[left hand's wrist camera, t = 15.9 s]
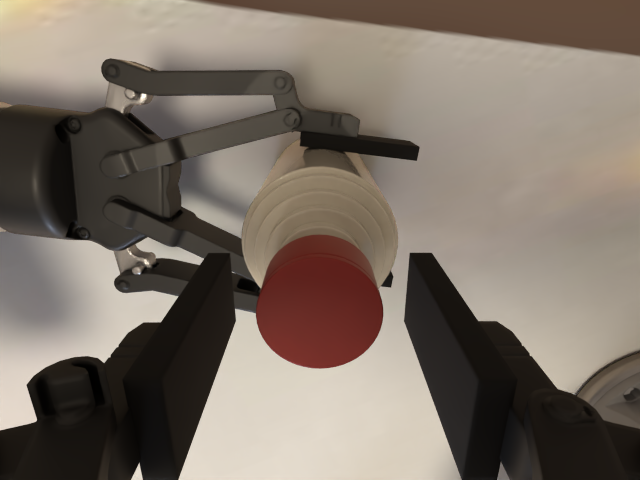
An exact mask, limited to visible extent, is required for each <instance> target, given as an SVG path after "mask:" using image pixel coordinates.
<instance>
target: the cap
mask: <svg viewBox="0 0 640 480" xmlns="http://www.w3.org/2000/svg"><path fill="white" fill-rule="evenodd" d="M256 319H257V324H258V328H259V331H260V333H261V335H262V337H263V339H264V340H265V342H266V343H267V345H268V346H269V347H270V348H271V349H272V350H273V351H274V352H275V353H276V354H278V355H279V356H280V357H282V358H283V359H285V360H287V361H289V362H291V363H294V364H296V365H299V366H303V367H308V368H331V367H336V366H340V365H343V364H346V363H348V362H350V361H352V360H354V359H356V358H357V357H359V356H360V355H362V354H363V353H364V352H365V351H366V350H367V349H368V348H369V347H370V346H371V345H372V344H373V342H374V341H375V339H376V337H377V336H378V333H379V331H380V329H381V325H382V321H383V305H382V300H381V296H380V293H379V290H378V286H377V283H376V279H375V276H374V272H373V269H372V267H371V265H370V263H369V261H368V259H367V258H366V256H365V255H364V254H363V253H362V252H361V251H360V250H359V249H358V248H357V247H356V246H354V245H353V244H351V243H350V242H348V241H346V240H344V239H342V238H338V237H335V236H330V235H320V234H319V235H309V236H304V237H301V238H298V239H296V240H293V241H291V242H290V243H288V244H286V245H285V246H284V247H282V248H281V249H280V250H279V251H278V252H277V253H276V254H275V255H274V257H273V258H272V260H271V261H270V263H269V265H268V267H267V270H266V274H265V277H264V280H263V284H262V287H261V291H260V294H259V297H258V301H257V306H256Z"/></svg>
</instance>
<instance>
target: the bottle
mask: <svg viewBox="0 0 640 480" xmlns="http://www.w3.org/2000/svg"><path fill="white" fill-rule="evenodd" d="M319 234H320V235H330V236H335V237H338V238H342V239H344V240H346V241H348V242H350V243H351V244H353V245H354V246H356V247H357V248H358V249H359V250H360V251H361V252H362V253H363V254H364V255H365V256H366V258H367V259H368V261H369V263H370V265H371V267H372V269H373V272H374V276H375V279H376V283H377V286H378V289H379V288H380V286H381V285H382V284H383V282H384V281H385V279H386V277H387V276H388V274H389V273H390V271H391V268H392V266H393V264H394V261H395V258H396V253H397V248H398V233H397V226H396V222H395V218H394V215H393V213H392V211H391V208H390V207H389V205H388V203H387V201H386V200H385V198H384V196H383V195H382V193H381V191H380V190H379V188H378V186H377V185H376V183H375V181H374V179H373V178H372V176H371V174H370V173H369V171H368V169H367V168H366V166H365V164H364V163H363V161H362V159H361V157H360V156H359V154H358V153H350V152H342V151H334V150H326V149H318V148H310V147H301V146H300V139H299V140H297V141H295V142H293V143H292V144H291V145H289V146H288V147H287V148H286V149H285V150H284V151H283V152H282V154H281V155H280V157H279V158H278V160H277V162H276V163H275V165H274V167H273V168H272V170H271V172H270V173H269V175H268V177H267V178H266V180H265V182H264V183H263V185H262V187H261V189H260V190H259V192H258V194H257V195H256V197H255V199H254V200H253V202H252V204H251V205H250V208H249V210H248V212H247V214H246V217H245V220H244V223H243V229H242V252H243V256H244V260H245V262H246V265H247V267H248V270H249V272H250V273H251V275H252V277H253V278H254V280H255V282H256V283H257V284H258V286H259V287H260V288H261V287H262V284H263V280H264V277H265V274H266V270H267V267H268V265H269V263H270V261H271V260H272V258H273V257H274V255H275V254H276V253H277V252H278V251H279V250H280V249H281V248H282V247H284V246H285V245H286V244H288V243H290V242H291V241H293V240H296V239H298V238H301V237H304V236H309V235H319Z"/></svg>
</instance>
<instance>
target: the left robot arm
mask: <svg viewBox="0 0 640 480" xmlns="http://www.w3.org/2000/svg"><path fill="white" fill-rule="evenodd" d="M235 322H236V317H235V305H234V293H233V281H232V269H231V258H230V253H208V254H207V256H206V257H205V259H204V260H203V262H202V263H201V264H200V266H199V267H198V269H197V270H196V272H195V273H194V275H193V276H192V278H191V279H190V281H189V282H188V284H187V285H186V287H185V288H184V289H183V291H182V292H181V294H180V295H179V297H178V298H177V300H176V301H175V303H174V304H173V306H172V307H171V309H170V310H169V311H168V313H167V314H166V316H165V317H164V319H163V320H162V322H161V323H142V324H141V325H139V326H138V327H136V328H135V329H133V330H132V331H130V332H129V333H128V334H127V335H126V336H125V338H124V339H123V340H122V341H121V343H120V344H119V347H117V348H116V349H115V350H114V352H113V353H112V354H111V358H108V359H107V361H106V362H105V363H103V362H102V361H101V360H99V359H98V358H94V357H89V356H85V357H74V358H70V359H66V360H62V361H59V362H57V363H55V364H52V365H50V366H48V367H46V368H44V369H43V370H42V371H40V372H39V373H37V374H36V375H34V376H33V378H32V379H31V380H30V381H29V383H28V384H27V388H28V391H29V394H30V398H31V401H32V404H33V407H34V410H35V414H36V417H37V422H34V423H31V424H27V425H23V426H18V427H14V428H9V429H5V430H0V480H131V478H132V476H133V474H134V472H135V470H136V468H137V466H138V464H139V462H140V467H141V472H142V477H143V480H178V479H179V476H180V473H181V471H182V468H183V465H184V462H185V460H186V457H187V454H188V451H189V448H190V446H191V443H192V440H193V437H194V435H195V432H196V429H197V426H198V424H199V421H200V418H201V415H202V413H203V410H204V407H205V404H206V402H207V399H208V396H209V393H210V391H211V388H212V385H213V382H214V380H215V377H216V374H217V371H218V369H219V366H220V363H221V360H222V358H223V355H224V352H225V349H226V346H227V344H228V341H229V338H230V335H231V333H232V330H233V327H234V324H235ZM404 322H405V324H406V327H407V330H408V333H409V335H410V338H411V341H412V344H413V346H414V349H415V352H416V355H417V358H418V360H419V363H420V366H421V369H422V371H423V374H424V377H425V380H426V382H427V385H428V388H429V391H430V393H431V396H432V399H433V402H434V404H435V407H436V410H437V413H438V415H439V418H440V421H441V424H442V426H443V429H444V432H445V435H446V437H447V440H448V443H449V446H450V448H451V451H452V454H453V457H454V460H455V462H456V465H457V468H458V471H459V473H460V476H461V479H462V480H497V477H498V472H499V467H500V462H502V464H503V466H504V468H505V470H506V472H507V474H508V476H509V478H510V480H640V353H637V354H634V355H631V356H629V357H626V358H624V359H622V360H620V361H618V362H616V363H614V364H612V365H610V366H609V367H607V368H606V369H604V370H603V371H601V372H600V373H598V374H597V375H596V376H595V377H594V378H592V379H591V380H590V381H589V382H588V383H587V384H586V385H585V386H584V387H583V389H582V390H581V391H580V392H579V394H578V395H577V396H575V395H573V394H572V393H568V392H565V391H562V390H558V389H557V388H556V387H555V385H554V384H553V383H552V382H551V380H550V379H549V378H548V376H547V375H546V374H545V373H544V371H543V370H542V369H541V368H540V366H539V365H538V364H537V363H536V361H535V360H534V359H533V357H532V356H530V355H529V352H528V351H527V350H526V349H525V347H524V346H522V344H521V342H520V341H519V340H518V339H517V337H516V336H515V335H514V333H513V332H512V331H510V330H509V329H507V328H506V327H504V326H503V325H501V324H500V323H498V322H497V321H478V320H477V319H476V317H475V316H474V314H473V313H472V311H471V310H470V309H469V307H468V306H467V304H466V303H465V301H464V300H463V298H462V297H461V295H460V294H459V292H458V291H457V289H456V288H455V287H454V285H453V284H452V282H451V281H450V279H449V278H448V276H447V275H446V273H445V272H444V270H443V269H442V267H441V266H440V264H439V263H438V262H437V260H436V259H435V257H434V256H433V254H432V253H410V257H409V269H408V281H407V293H406V305H405V317H404Z"/></svg>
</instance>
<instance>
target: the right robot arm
mask: <svg viewBox="0 0 640 480" xmlns="http://www.w3.org/2000/svg"><path fill="white" fill-rule="evenodd" d="M101 70H102V74H103V77H104V78H105V79H106V80H107V81H109V86H108V92H107V98H106V104H105V107H104V108H99V109H97V110H95V111H93V112H90V113H86V112H78V111H70V110H62V109H54V108H46V107H38V106H30V105H13V106H12V105H10V104H7V103H4V102H0V232H6V231H8V232H11V233H14V234H22V235H31V236H40V237H49V238H58V239H67V240H90V241H93V242H96V243H98V244H100V245H102V246H103V247H105V248H107V249H109V250H113V251H114V254H115V257H116V260H117V264H118V267H119V270H120V275H119V276H118V277H117V278H116V279H115V281H114V285H115V287H116V289H117V290H119V291H120V292H123V293H131V292H142V291H152V290H153V291H157V292H162V293H166V294H171V295H176V296H179V295H180V294H181V292H182V291H183V289H184V288H185V287H186V285H187V284H188V282H189V281H190V279H191V278H192V276H193V275H194V273H195V272H196V270H197V269H198V267H199V266H200V265H196V264H191V263H187V262H183V261H178V260H173V259H165V258H156V256H155V254H154V253H152V252H143V251H141V250H139V249H138V248H137V247H136V245H135V244H136V243H138V242H140V241H142V240H143V239H145V238H147V237H149V238H152V239H154V240H156V241H158V242H160V243H162V244H165V245H167V246H170V247H180V248H183V249H185V250H187V251H189V252H191V253H193V254H196V255H198V256H200V257H202V258H204V259H205V257H206V256H207V254H208V253H230V258H231V269H232V272H234V273H232V281H233V293H234V305H235V309H240V310H244V311H249V312H253V313H256V306H257V301H258V297H259V294H260V291H261V288H260V287H259V286H258V284H257V283H256V282H255V280H254V278H253V277H252V275H251V273H250V272H249V270H248V267H247V265H246V262H245V260H244V256H243V252H242V239H241V238H239V237H236V236H234V235H232V234H230V233H228V232H226V231H224V230H222V229H220V228H218V227H216V226H214V225H211V224H209V223H207V222H205V221H203V220H201V219H199V218H197V217H196V215H195V214H194V213H193V212H191V211H189V210H187V209H185V208H183V207H181V195H180V191H179V187H178V182H179V178H180V175H181V160H184V159H187V158H191V157H195V156H198V155H202V154H206V153H210V152H214V151H218V150H221V149H225V148H229V147H233V146H237V145H241V144H244V143H248V142H252V141H256V140H260V139H264V138H267V137H271V136H275V135H279V134H283V133H287V132H291V131H292V132H293V131H299V132H301V137H300V146H301V147H310V148H318V149H326V150H334V151H342V152H350V153H358V154H366V155H375V156H383V157H391V158H399V159H407V160H415V161H417V157H418V152H419V146H417V145H415V144H414V143H412V142H410V141H405V140H397V139H389V138H381V137H373V136H365V135H358V130H359V123H360V120H359V119H358V118H356V117H354V116H353V115H351V114H347V113H339V112H331V111H324V110H316V109H309V108H306V107H304V106H303V105H302V104H301V103H300V101H299V99H298V96H297V92H296V87H295V82H294V78H293V77H292V75H290V74H289V73H287V72H285V71H281V70H239V71H158V70H155V69H152V68H150V67H147V66H144V65H142V64H139V63H136V62H131V61H125V60H117V59H107V60H105V61H104V62H103V64H102V67H101ZM153 95H157V96H191V95H273V97H274V101H275V105H276V109H277V110H275V111H271V112H267V113H264V114H260V115H256V116H252V117H249V118H245V119H241V120H237V121H234V122H230V123H226V124H222V125H218V126H215V127H211V128H207V129H203V130H200V131H196V132H192V133H188V134H184V135H180V136H176V137H173V138H169V139H165V140H162V139H161V138H160V137H159V136H157V135H156V134H155V133H154V132H153V131H152V130H150V129H149V128H148V127H147V126H146V125H144V124H143V123H142V122H141V121H140V120H138V119H137V118H136V117H135V116H134V115H133V114H131V113H130V110H131V108H132V107H133V106H134V105H144V104H148V103H150V102H151V100H152V98H153ZM236 273H237V274H236ZM392 280H393V275H392V272H391V271H390V273H389V274H388V276H387V277H386V279H385V281H384V282H383V284H382V285H381V286H383V287H391V285H392Z"/></svg>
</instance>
